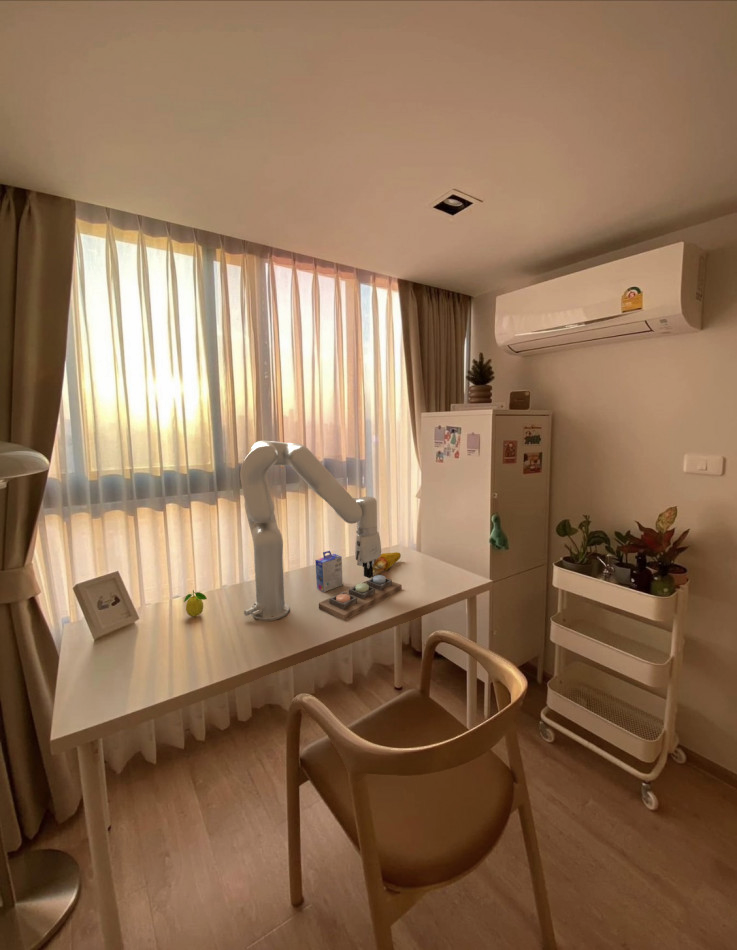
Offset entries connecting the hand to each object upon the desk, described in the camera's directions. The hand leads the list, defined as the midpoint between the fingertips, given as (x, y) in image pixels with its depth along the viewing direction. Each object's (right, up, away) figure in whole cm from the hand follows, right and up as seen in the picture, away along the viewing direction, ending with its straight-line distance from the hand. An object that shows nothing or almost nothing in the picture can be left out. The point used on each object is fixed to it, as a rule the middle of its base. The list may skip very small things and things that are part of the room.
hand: (368, 576), depth 154 cm
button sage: (-2, -5, -1) cm, 6 cm away
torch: (+7, -4, +27) cm, 28 cm away
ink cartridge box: (-16, -7, +10) cm, 20 cm away
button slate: (+4, -4, +6) cm, 8 cm away
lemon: (-60, -11, -14) cm, 62 cm away
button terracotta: (-9, -7, -9) cm, 14 cm away
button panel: (-2, -8, -1) cm, 8 cm away
